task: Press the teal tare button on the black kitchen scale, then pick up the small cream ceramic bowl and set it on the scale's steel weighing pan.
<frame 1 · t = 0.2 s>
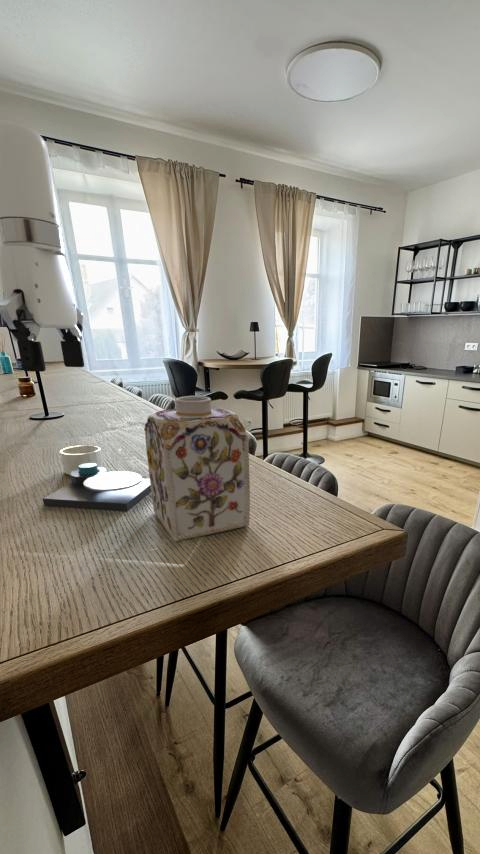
hand: (56, 368, 64), 21 cm above the counter, tool pointing down, fingers open, 9 cm apart
tare button: (88, 469, 73), point 3 cm above the counter, slide at 0.1 cm
bowl: (83, 471, 83), on the counter
scale: (104, 495, 70), on the counter
decorative jar: (200, 520, 62), on the counter
scale pan: (113, 482, 68), resting on scale
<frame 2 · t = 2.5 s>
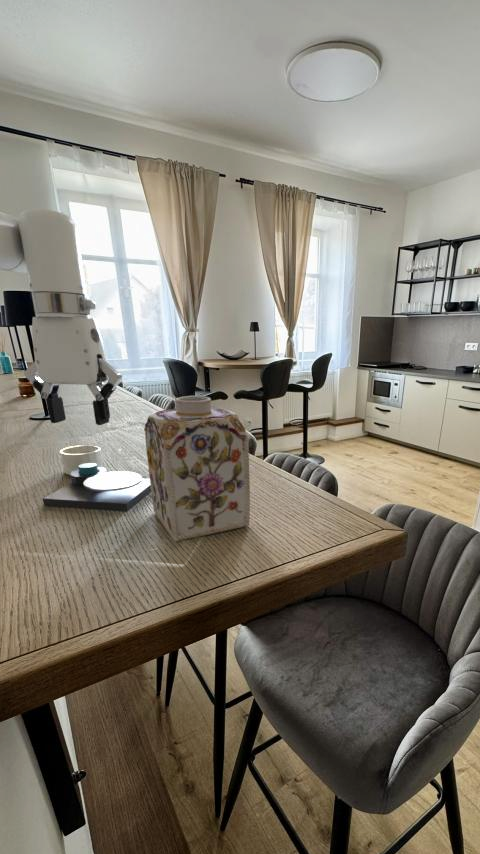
hand: (80, 421, 70), 12 cm above the counter, tool pointing down, fingers open, 7 cm apart
nothing on the counter moved.
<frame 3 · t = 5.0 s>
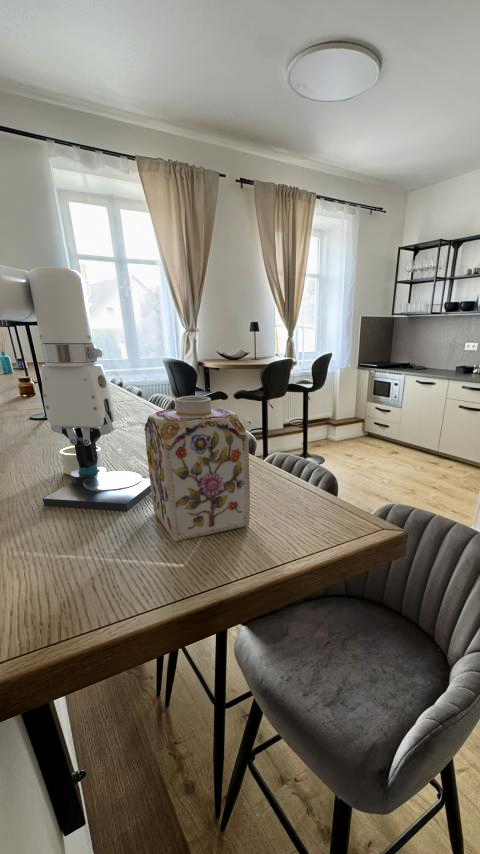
hand: (88, 465, 73), 4 cm above the counter, tool pointing down, fingers closed
tare button: (88, 469, 73), point 3 cm above the counter, slide at 0.1 cm, touching gripper
everything else where it was.
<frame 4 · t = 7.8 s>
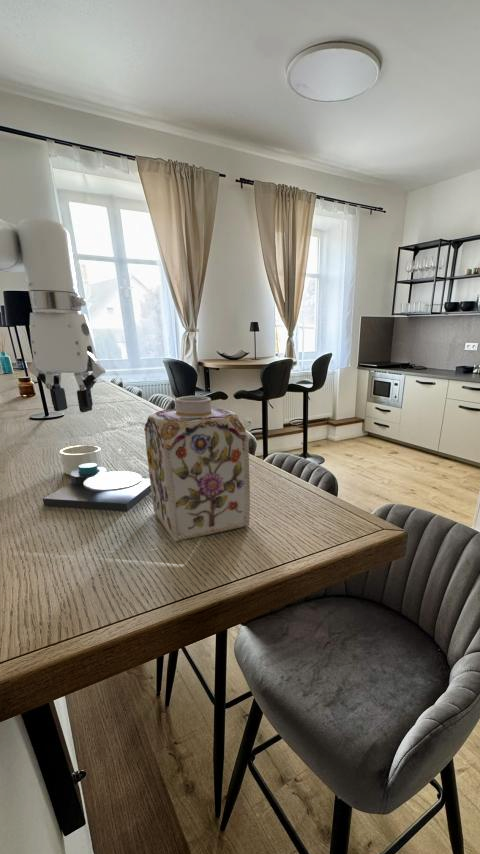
hand: (73, 409, 78), 12 cm above the counter, tool pointing down, fingers open, 4 cm apart
tare button: (88, 469, 73), point 3 cm above the counter, slide at 0.1 cm
everything else where it was.
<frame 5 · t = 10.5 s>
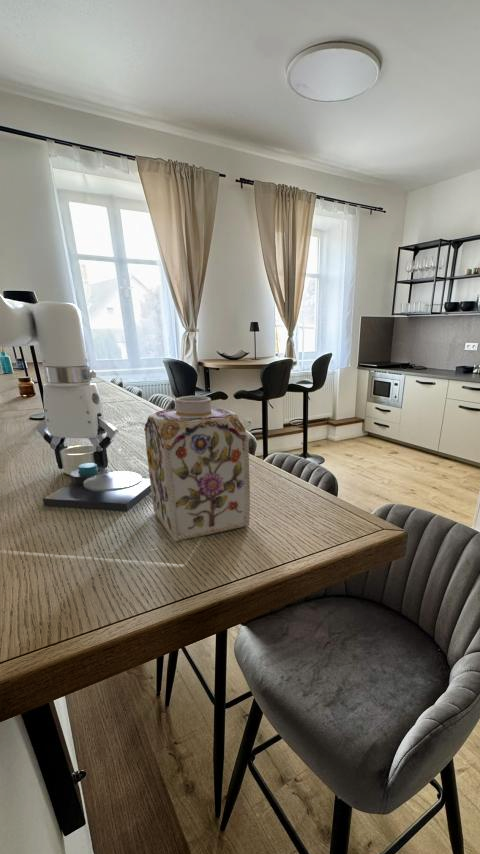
hand: (83, 467, 82), 1 cm above the counter, tool pointing down, fingers closed on bowl, 7 cm apart
bowl: (84, 471, 83), on the counter, touching gripper
everything else where it was.
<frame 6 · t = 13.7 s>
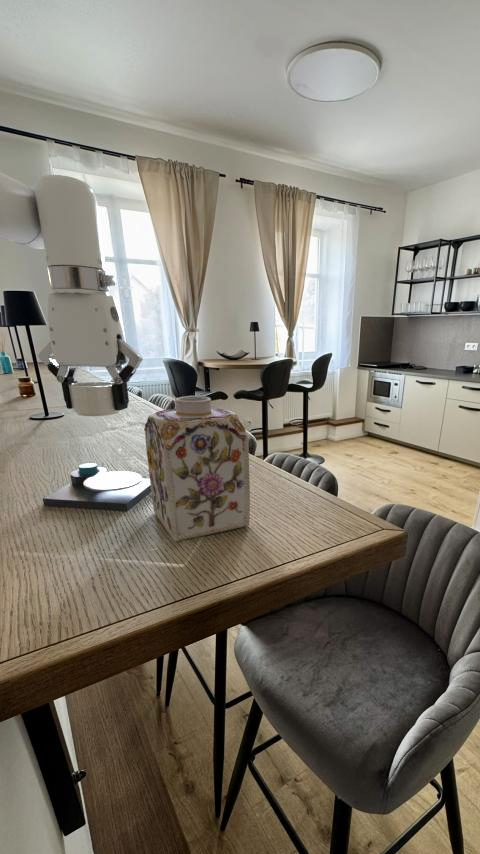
hand: (97, 407, 66), 15 cm above the counter, tool pointing down, fingers closed on bowl, 7 cm apart
bowl: (98, 412, 66), point 14 cm above the counter, touching gripper
everything else where it was.
when the fingers open (4 cm above the counter, at t = 16.9 s): bowl stays where it is, resting on scale pan.
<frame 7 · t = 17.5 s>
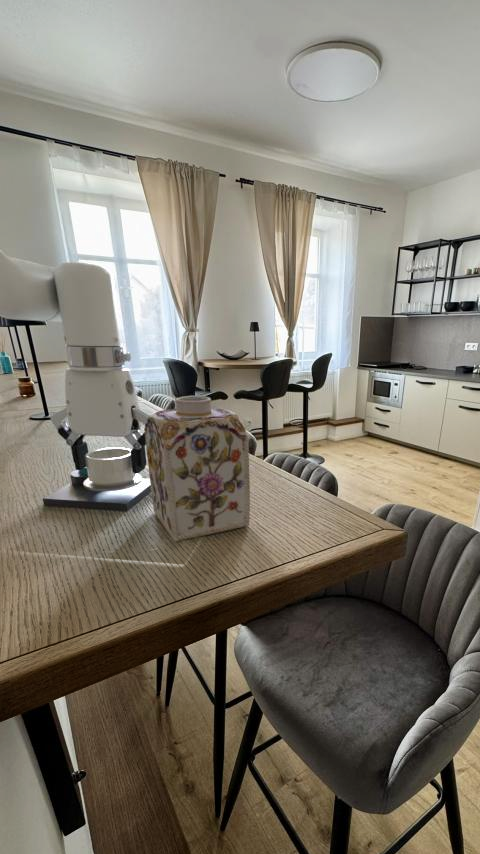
hand: (111, 469, 67), 5 cm above the counter, tool pointing down, fingers open, 9 cm apart
bowl: (113, 479, 68), point 3 cm above the counter, touching scale pan
everything else where it was.
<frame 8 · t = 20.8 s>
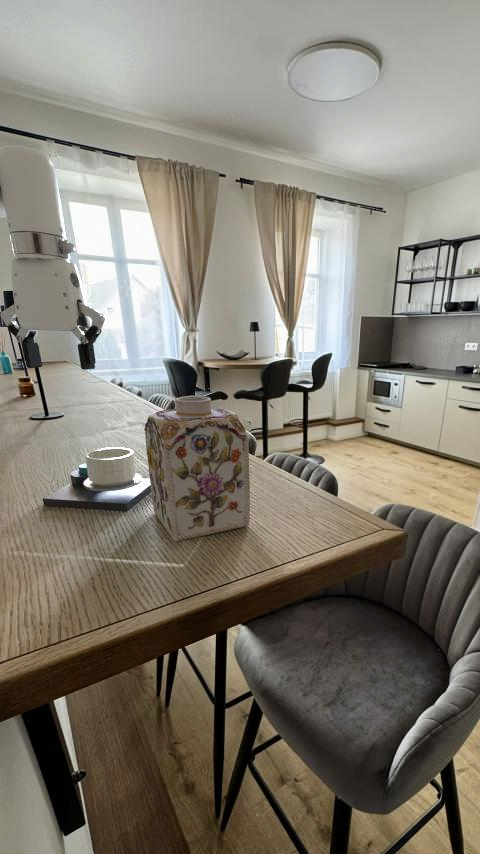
hand: (61, 368, 69), 20 cm above the counter, tool pointing down, fingers open, 9 cm apart
nothing on the counter moved.
at the end: tare button pushed in 0.9 cm at the most during the clip, back to where it started at the end; tare button slide at 0.1 cm; bowl 0.0 cm off-centre on the scale pan, point 0.4 cm above the scale pan's base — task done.
